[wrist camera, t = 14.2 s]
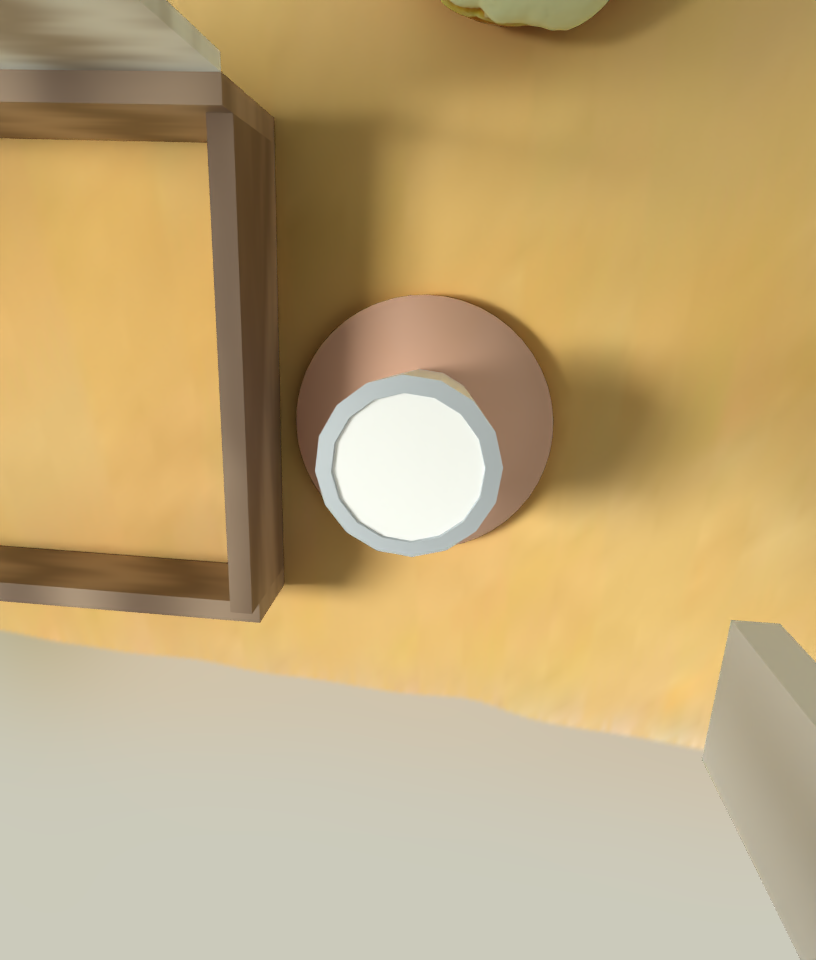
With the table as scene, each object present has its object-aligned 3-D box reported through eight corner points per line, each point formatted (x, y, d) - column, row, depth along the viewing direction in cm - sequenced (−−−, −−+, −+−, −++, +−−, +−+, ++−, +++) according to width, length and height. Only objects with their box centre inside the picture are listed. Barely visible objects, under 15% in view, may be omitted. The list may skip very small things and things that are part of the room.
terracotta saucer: (301, 533, 33) (297, 539, 32) (298, 289, 29) (294, 289, 28) (538, 550, 32) (539, 556, 31) (564, 300, 28) (567, 300, 27)
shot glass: (519, 466, 30) (532, 517, 23) (387, 520, 31) (364, 583, 24) (459, 329, 28) (455, 341, 21) (324, 392, 29) (281, 423, 23)
